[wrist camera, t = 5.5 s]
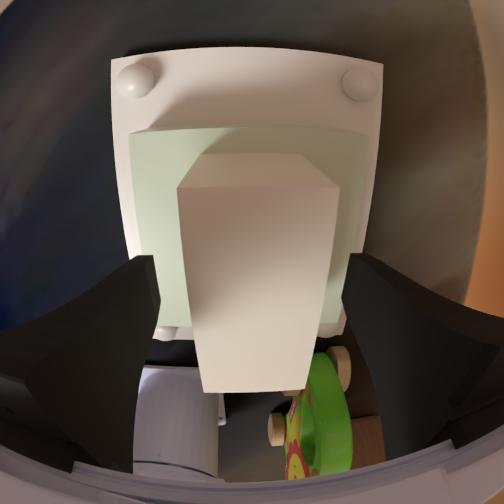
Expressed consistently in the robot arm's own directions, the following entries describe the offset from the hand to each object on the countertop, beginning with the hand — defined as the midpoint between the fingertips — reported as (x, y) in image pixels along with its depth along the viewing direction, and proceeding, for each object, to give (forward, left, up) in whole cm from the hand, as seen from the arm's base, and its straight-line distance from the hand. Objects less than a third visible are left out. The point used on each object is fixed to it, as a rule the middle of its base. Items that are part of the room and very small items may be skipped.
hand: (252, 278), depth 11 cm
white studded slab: (0, 0, -7) cm, 7 cm away
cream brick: (0, 0, -3) cm, 3 cm away
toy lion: (-18, -5, -7) cm, 20 cm away
